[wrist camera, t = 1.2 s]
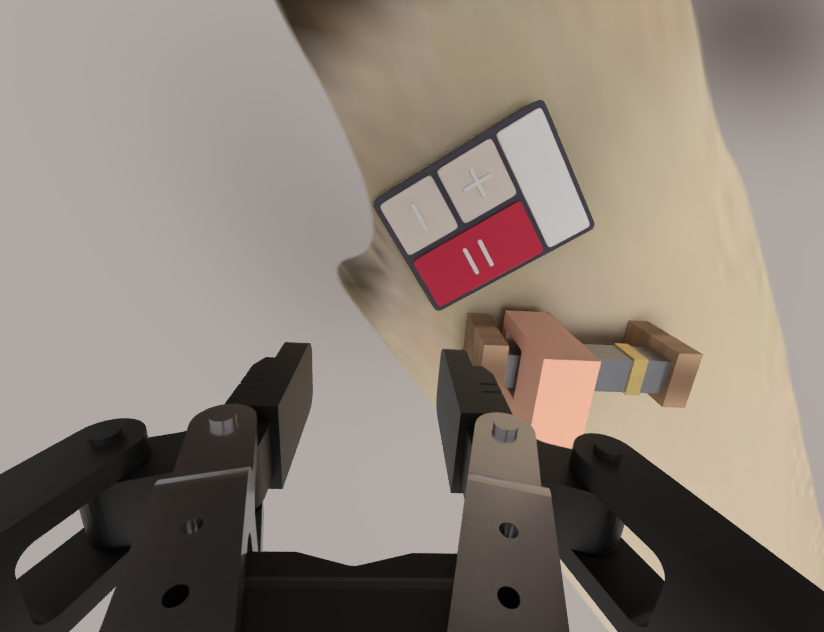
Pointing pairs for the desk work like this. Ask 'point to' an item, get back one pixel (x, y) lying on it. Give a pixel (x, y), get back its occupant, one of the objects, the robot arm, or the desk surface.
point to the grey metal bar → (612, 368)
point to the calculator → (487, 207)
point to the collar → (550, 377)
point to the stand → (493, 349)
